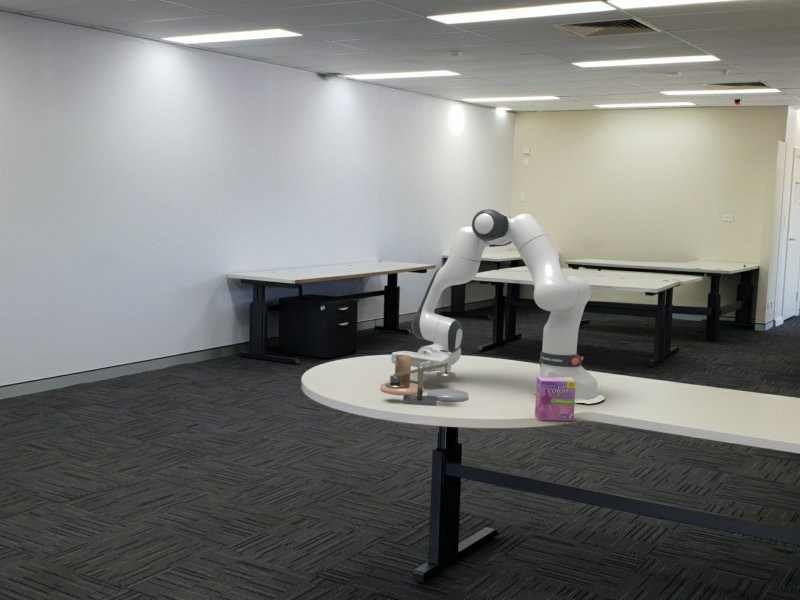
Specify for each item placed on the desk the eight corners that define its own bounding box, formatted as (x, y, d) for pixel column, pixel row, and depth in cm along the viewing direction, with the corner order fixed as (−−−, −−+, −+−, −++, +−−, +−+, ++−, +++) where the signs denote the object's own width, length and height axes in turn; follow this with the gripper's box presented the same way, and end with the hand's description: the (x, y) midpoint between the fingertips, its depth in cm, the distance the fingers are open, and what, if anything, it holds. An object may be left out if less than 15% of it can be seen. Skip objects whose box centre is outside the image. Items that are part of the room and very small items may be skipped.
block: (412, 386, 273) (414, 356, 272) (404, 388, 269) (405, 358, 268) (399, 384, 276) (401, 354, 275) (391, 386, 272) (392, 356, 271)
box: (538, 420, 241) (540, 380, 240) (534, 415, 246) (536, 376, 245) (574, 421, 241) (576, 381, 240) (569, 416, 247) (572, 377, 246)
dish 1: (431, 390, 275) (431, 386, 275) (408, 397, 263) (408, 393, 263) (396, 383, 282) (396, 380, 282) (372, 390, 271) (372, 386, 271)
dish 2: (475, 396, 268) (475, 393, 267) (455, 403, 257) (455, 400, 257) (440, 390, 275) (440, 387, 275) (419, 397, 264) (419, 393, 264)
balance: (454, 401, 260) (456, 361, 259) (454, 406, 253) (456, 365, 252) (385, 397, 261) (387, 357, 260) (384, 402, 254) (385, 361, 253)
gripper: (404, 345, 291) (381, 350, 279) (455, 353, 279) (434, 358, 268) (403, 363, 291) (380, 368, 280) (454, 371, 280) (433, 377, 269)
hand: (407, 363), depth 274 cm, fingers open, 8 cm apart
